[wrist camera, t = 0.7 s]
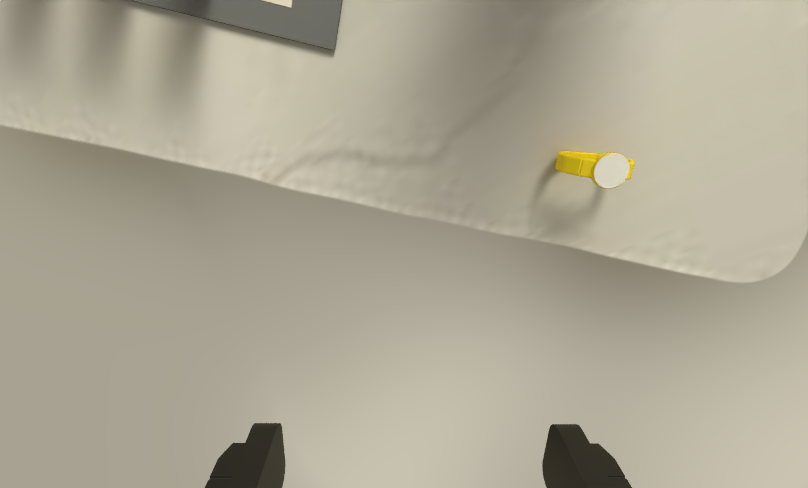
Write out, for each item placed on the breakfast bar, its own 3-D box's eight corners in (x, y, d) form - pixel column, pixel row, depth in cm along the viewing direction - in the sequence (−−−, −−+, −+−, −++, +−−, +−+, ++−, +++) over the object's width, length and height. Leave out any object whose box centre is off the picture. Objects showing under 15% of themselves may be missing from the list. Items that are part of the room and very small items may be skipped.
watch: (545, 172, 38) (567, 185, 32) (551, 141, 37) (574, 149, 31) (610, 177, 38) (643, 192, 32) (618, 147, 37) (653, 156, 31)
